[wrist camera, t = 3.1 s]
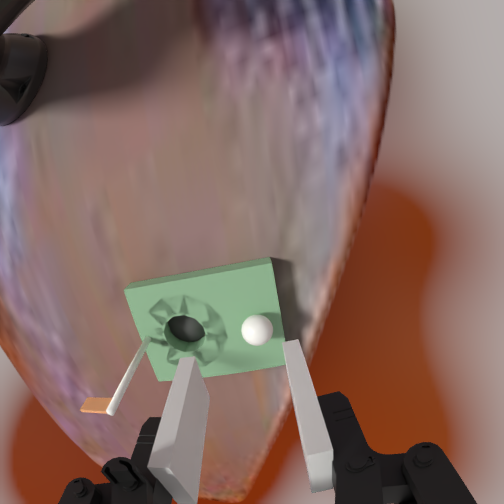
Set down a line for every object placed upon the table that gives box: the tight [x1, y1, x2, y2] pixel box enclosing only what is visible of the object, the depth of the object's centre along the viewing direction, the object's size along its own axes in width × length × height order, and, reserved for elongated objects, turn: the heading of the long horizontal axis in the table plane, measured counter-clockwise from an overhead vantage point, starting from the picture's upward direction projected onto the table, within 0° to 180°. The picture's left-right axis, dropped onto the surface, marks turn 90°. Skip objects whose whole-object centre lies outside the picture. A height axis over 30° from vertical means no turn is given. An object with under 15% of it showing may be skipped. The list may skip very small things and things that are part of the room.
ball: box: [241, 315, 273, 346], centre depth 33 cm, size 4×4×4 cm
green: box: [80, 257, 286, 415], centre depth 29 cm, size 21×14×16 cm
